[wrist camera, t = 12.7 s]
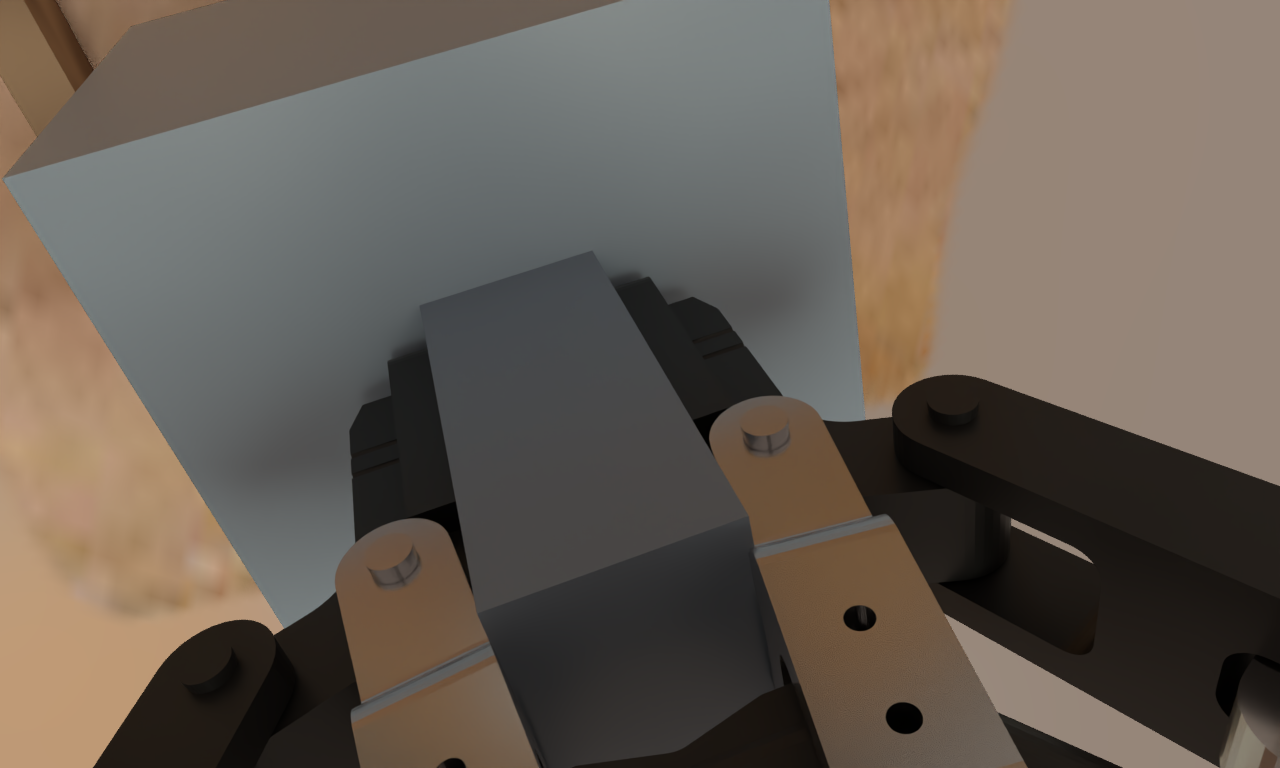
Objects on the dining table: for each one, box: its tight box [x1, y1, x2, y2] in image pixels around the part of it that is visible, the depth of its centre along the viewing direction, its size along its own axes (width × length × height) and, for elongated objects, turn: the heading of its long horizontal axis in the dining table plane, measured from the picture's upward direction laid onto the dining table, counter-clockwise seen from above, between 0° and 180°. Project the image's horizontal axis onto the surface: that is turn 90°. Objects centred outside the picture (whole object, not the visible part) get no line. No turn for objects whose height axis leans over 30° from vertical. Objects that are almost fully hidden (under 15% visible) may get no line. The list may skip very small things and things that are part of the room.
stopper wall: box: [0, 0, 93, 137], centre depth 28 cm, size 14×2×2 cm, turn 12°
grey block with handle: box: [2, 0, 865, 768], centre depth 15 cm, size 10×10×15 cm
